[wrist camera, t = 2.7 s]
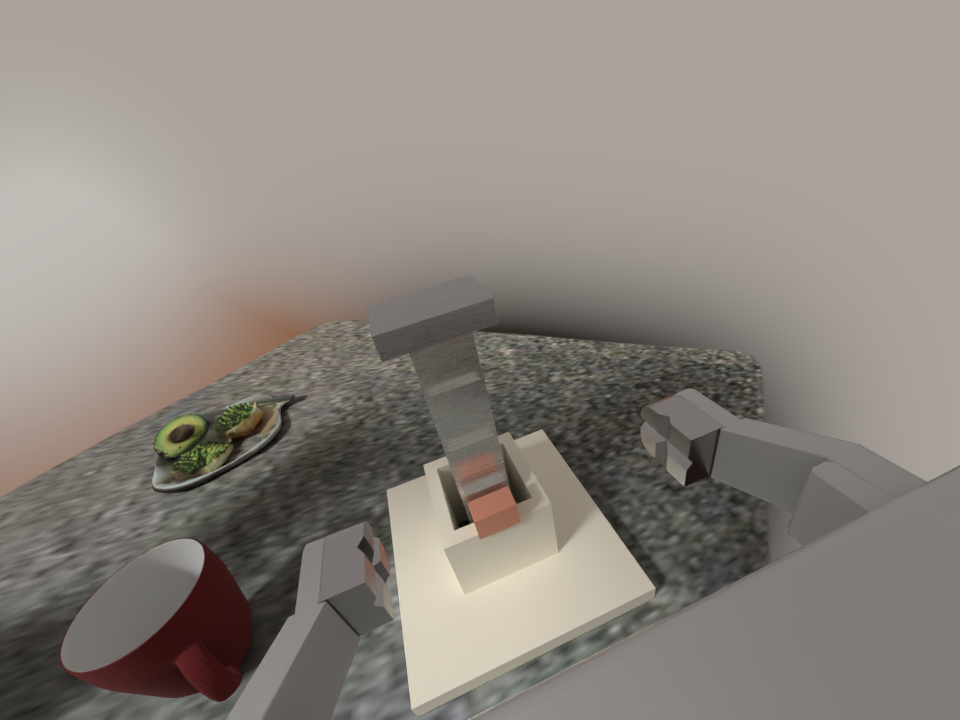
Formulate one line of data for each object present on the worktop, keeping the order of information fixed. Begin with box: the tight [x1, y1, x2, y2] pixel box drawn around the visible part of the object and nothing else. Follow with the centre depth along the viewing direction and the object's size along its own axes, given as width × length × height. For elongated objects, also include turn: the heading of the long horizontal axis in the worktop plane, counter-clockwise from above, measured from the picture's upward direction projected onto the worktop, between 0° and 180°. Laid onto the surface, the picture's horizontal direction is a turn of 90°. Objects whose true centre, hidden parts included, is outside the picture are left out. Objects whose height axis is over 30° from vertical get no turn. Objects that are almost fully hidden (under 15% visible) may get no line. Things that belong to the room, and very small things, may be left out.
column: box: [368, 275, 511, 524], centre depth 26 cm, size 6×5×24 cm
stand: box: [387, 430, 656, 716], centre depth 30 cm, size 18×18×10 cm
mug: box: [60, 538, 252, 702], centre depth 26 cm, size 11×8×10 cm
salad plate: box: [152, 394, 295, 493], centre depth 53 cm, size 19×18×5 cm
